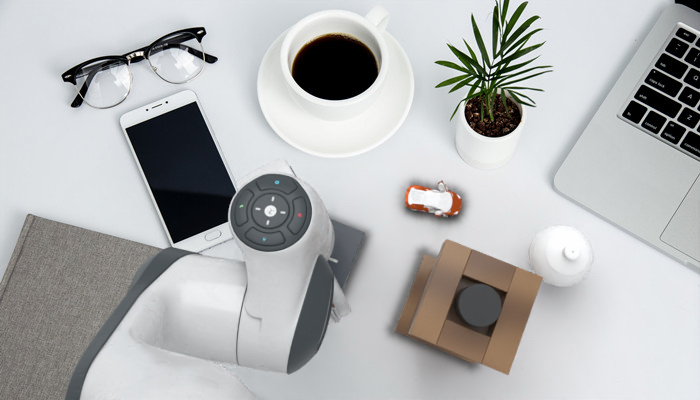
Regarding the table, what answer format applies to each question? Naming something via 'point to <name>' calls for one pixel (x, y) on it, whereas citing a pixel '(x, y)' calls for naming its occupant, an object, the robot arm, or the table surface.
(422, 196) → the toy car
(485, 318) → the button
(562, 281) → the white lidded jar
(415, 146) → the table surface
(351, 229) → the control panel
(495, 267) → the button stand
